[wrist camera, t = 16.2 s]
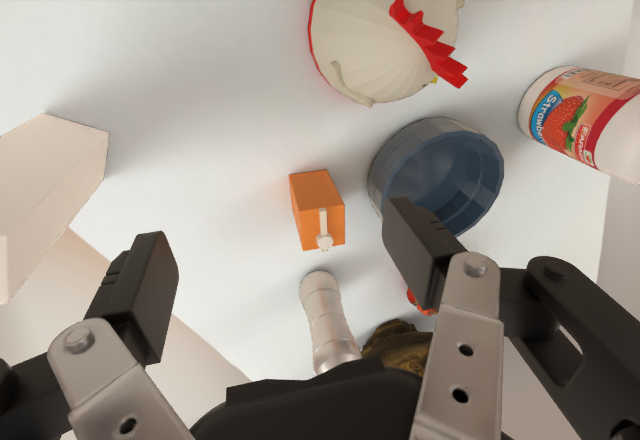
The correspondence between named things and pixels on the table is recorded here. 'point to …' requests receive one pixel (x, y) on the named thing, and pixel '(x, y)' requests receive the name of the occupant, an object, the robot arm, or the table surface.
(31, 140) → the milk
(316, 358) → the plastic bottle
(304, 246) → the carton
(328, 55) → the kitchen timer
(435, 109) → the table surface
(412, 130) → the bowl
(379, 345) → the pottery vessel
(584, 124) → the fruit juice
